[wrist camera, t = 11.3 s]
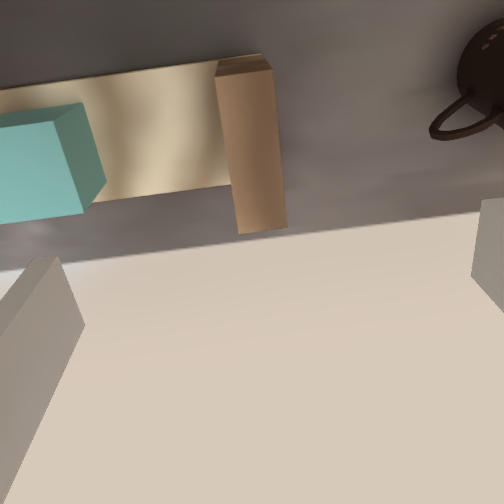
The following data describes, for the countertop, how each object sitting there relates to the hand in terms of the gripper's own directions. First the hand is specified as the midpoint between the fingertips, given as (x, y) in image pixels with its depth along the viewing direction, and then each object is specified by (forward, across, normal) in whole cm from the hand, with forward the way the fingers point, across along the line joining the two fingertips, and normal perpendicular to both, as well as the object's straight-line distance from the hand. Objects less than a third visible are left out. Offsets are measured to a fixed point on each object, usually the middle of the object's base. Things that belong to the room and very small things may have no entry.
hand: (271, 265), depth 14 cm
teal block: (+21, -14, 0) cm, 25 cm away
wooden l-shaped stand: (+22, -10, 0) cm, 24 cm away
